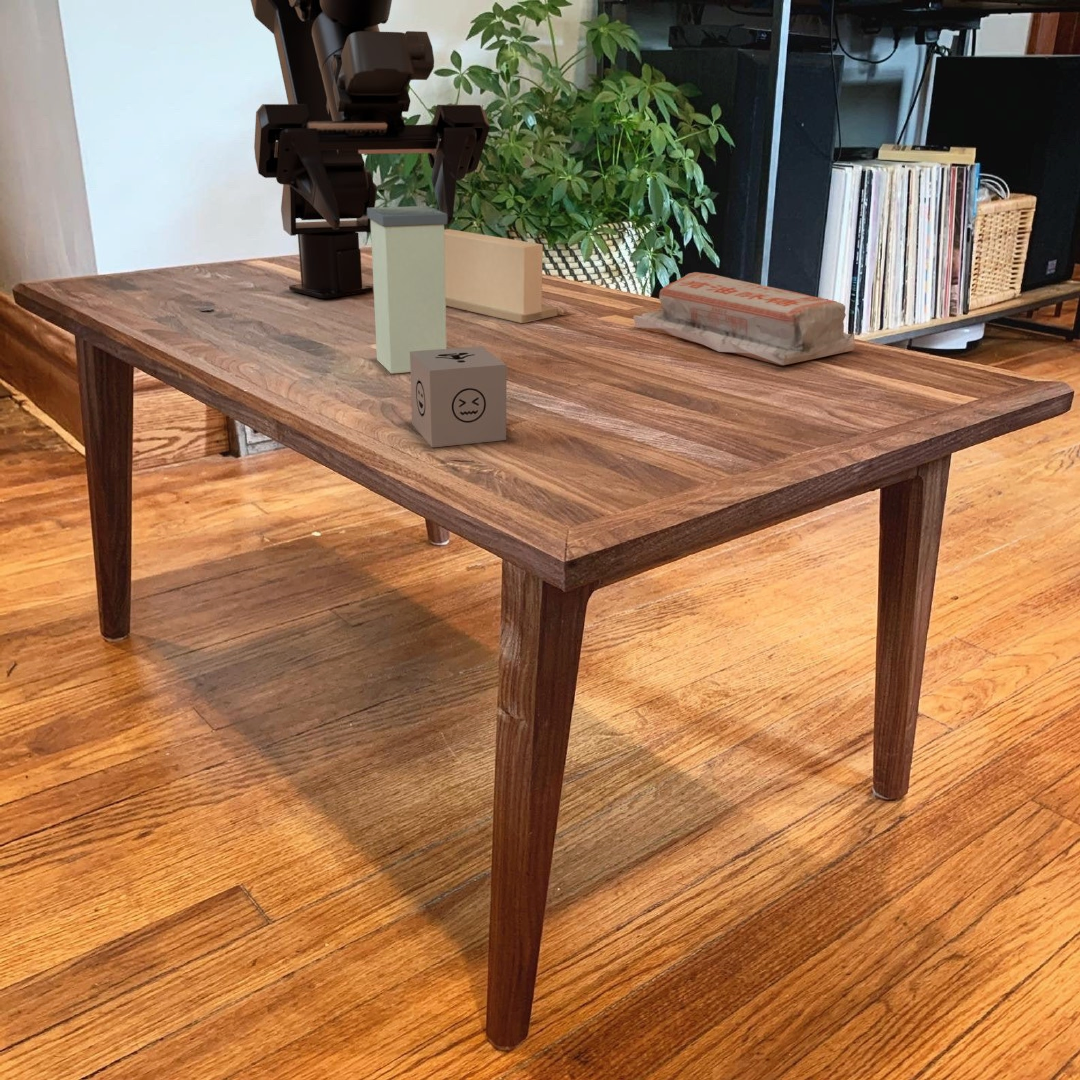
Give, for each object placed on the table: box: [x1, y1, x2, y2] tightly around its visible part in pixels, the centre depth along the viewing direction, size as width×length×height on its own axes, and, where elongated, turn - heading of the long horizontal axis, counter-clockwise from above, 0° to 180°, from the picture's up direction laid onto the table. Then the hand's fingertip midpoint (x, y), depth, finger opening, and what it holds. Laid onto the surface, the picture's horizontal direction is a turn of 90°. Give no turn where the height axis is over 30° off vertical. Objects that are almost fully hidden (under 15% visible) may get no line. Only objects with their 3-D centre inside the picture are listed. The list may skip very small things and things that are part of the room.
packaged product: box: [633, 271, 856, 366], centre depth 96 cm, size 18×5×10 cm
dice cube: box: [409, 346, 508, 449], centre depth 70 cm, size 5×5×5 cm
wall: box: [444, 228, 559, 324], centre depth 106 cm, size 13×5×7 cm, turn 46°
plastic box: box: [367, 205, 448, 375], centre depth 85 cm, size 5×5×12 cm
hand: (394, 223), depth 86 cm, fingers open, 9 cm apart
